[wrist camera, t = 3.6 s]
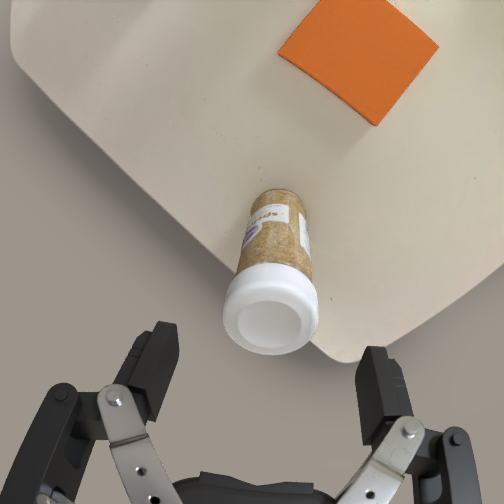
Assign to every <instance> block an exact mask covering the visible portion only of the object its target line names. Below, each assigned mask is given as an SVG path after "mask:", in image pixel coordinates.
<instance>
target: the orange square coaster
mask: <svg viewBox="0 0 504 504" xmlns="http://www.w3.org/2000/svg"><path fill="white" fill-rule="evenodd" d="M438 48H439V46H438V45H437V44H436V43H435V42H434V41H433V40H431V39H430V38H429V37H428V36H427V35H426V34H425V33H424V32H423V31H422V30H421V29H420V28H419V27H417V26H416V25H415V24H414V23H413V22H412V21H411V20H409V19H408V18H407V17H406V16H405V15H404V14H402V13H401V12H400V11H399V10H398V9H396V8H395V7H394V6H393V5H391V4H390V3H389V2H387V1H386V0H320V1H319V2H318V3H317V5H316V6H315V7H314V8H313V9H312V11H311V12H310V13H309V14H308V15H307V16H306V18H305V19H304V20H303V21H302V23H301V24H300V25H299V26H298V27H297V29H296V30H295V31H294V32H293V34H292V35H291V36H290V37H289V39H288V40H287V41H286V42H285V44H284V45H283V46H282V48H281V49H280V50H279V51H278V55H280V56H281V57H283V58H284V59H286V60H287V61H289V62H290V63H292V64H293V65H295V66H296V67H298V68H299V69H301V70H302V71H304V72H305V73H307V74H308V75H309V76H311V77H312V78H314V79H315V80H317V81H318V82H319V83H321V84H322V85H323V86H325V87H326V88H327V89H329V90H330V91H331V92H333V93H334V94H335V95H337V96H338V97H339V98H341V99H342V100H343V101H344V102H346V103H347V104H348V105H349V106H351V107H352V108H353V109H354V110H356V111H357V112H358V113H359V114H361V115H362V116H363V117H364V118H365V119H367V120H368V121H369V122H370V123H371V124H372V125H374V126H377V125H378V124H379V123H380V121H381V120H382V119H383V118H384V116H385V115H386V114H387V113H388V111H389V110H390V109H391V108H392V106H393V105H394V104H395V103H396V101H397V100H398V99H399V98H400V96H401V95H402V94H403V93H404V91H405V90H406V89H407V88H408V86H409V85H410V84H411V83H412V81H413V80H414V79H415V77H416V76H417V75H418V74H419V72H420V71H421V70H422V69H423V67H424V66H425V65H426V63H427V62H428V61H429V60H430V58H431V57H432V56H433V54H434V53H435V52H436V51H437V49H438Z"/></svg>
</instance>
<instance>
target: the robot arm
mask: <svg viewBox="0 0 504 504" xmlns="http://www.w3.org/2000/svg"><path fill="white" fill-rule="evenodd" d="M178 357H179V343H178V333H177V325H176V324H174V323H168V322H162V321H158V322H157V324H156V326H155V328H154V330H153V332H150V331H144V332H143V333H142V334H141V335H140V336H138V337H137V338H136V340H135V342H134V344H133V346H132V349H130V351H129V353H128V356H127V357H126V359H125V361H124V363H123V365H122V367H121V369H120V371H119V372H118V374H117V376H116V378H115V380H114V382H113V383H112V384H110V385H107V386H105V387H104V388H102V389H101V390H100V391H99V392H77V390H76V388H75V387H74V386H72V385H71V384H68V383H59V384H56V385H54V386H53V387H52V388H50V390H49V391H48V393H47V395H46V397H45V398H44V400H43V402H42V404H41V406H40V408H39V410H38V412H37V414H36V416H35V418H34V420H33V422H32V424H31V426H30V428H29V430H28V432H27V434H26V436H25V438H24V441H23V443H22V445H21V447H20V449H19V451H18V454H17V456H16V458H15V460H14V463H13V465H12V467H11V470H10V472H9V474H8V477H7V479H6V481H5V484H4V487H3V490H2V491H1V494H0V504H75V503H74V502H75V499H76V495H77V492H78V489H79V486H80V483H81V480H82V477H83V474H84V471H85V468H86V465H87V463H88V460H89V457H90V454H91V452H92V448H93V446H94V443H95V441H96V440H109V442H110V445H109V447H110V451H111V454H112V457H113V459H114V462H115V465H116V468H117V470H118V473H119V475H120V477H121V481H122V483H123V485H124V488H125V490H126V493H127V495H128V497H129V499H130V502H131V504H389V503H390V501H391V500H392V498H393V497H394V495H395V493H396V492H397V490H398V489H399V487H400V485H401V484H402V482H403V480H404V476H403V475H404V473H407V474H411V475H412V480H413V495H414V504H482V500H481V493H480V487H479V481H478V475H477V470H476V465H475V460H474V455H473V450H472V446H471V442H470V438H469V435H468V434H467V432H466V431H465V430H463V429H462V428H460V427H450V428H448V429H447V430H446V431H445V432H444V433H442V432H437V431H433V430H429V429H426V428H424V426H423V424H422V422H421V421H420V420H418V419H417V418H415V417H414V415H413V411H412V407H411V403H410V399H409V395H408V392H407V388H406V384H405V381H404V378H403V373H402V370H401V367H400V366H399V365H398V363H397V362H396V361H395V359H388V355H387V351H386V348H385V347H379V346H367V347H366V349H365V351H364V354H363V356H362V358H361V361H360V363H359V365H358V368H357V370H356V375H355V385H356V392H357V399H358V407H359V415H360V422H361V432H362V440H363V445H371V446H372V452H371V453H370V454H369V456H368V457H367V459H366V460H365V461H364V463H363V464H362V466H361V467H360V468H359V469H358V471H357V472H356V473H355V475H354V476H353V477H352V478H351V480H350V481H349V482H348V483H347V485H346V486H345V487H344V488H343V489H342V490H341V491H340V493H339V494H338V495H337V496H336V497H335V498H332V497H331V496H329V495H328V494H326V493H323V492H321V491H318V490H315V489H313V483H299V482H282V483H275V484H268V485H260V486H256V485H252V484H249V483H246V482H243V481H241V480H238V479H235V478H233V477H230V476H226V475H219V474H213V473H208V472H202V471H201V472H200V476H199V477H193V478H187V479H183V480H180V481H177V482H175V483H171V481H170V479H169V477H168V475H167V473H166V471H165V469H164V467H163V465H162V463H161V461H160V459H159V457H158V455H157V453H156V451H155V448H154V446H153V444H152V442H151V439H150V437H149V435H148V433H147V431H146V429H145V426H146V423H147V420H149V421H154V422H156V419H157V416H158V413H159V411H160V408H161V405H162V402H163V400H164V397H165V394H166V392H167V389H168V386H169V383H170V381H171V378H172V375H173V372H174V370H175V367H176V365H177V362H178Z"/></svg>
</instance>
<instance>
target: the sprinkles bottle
mask: <svg viewBox="0 0 504 504" xmlns="http://www.w3.org/2000/svg"><path fill="white" fill-rule="evenodd" d="M305 220H306V211H305V207H304V205H303V203H302V202H301V200H300V199H299V198H298V197H297V196H296V195H295V194H293V193H292V192H289V191H286V190H270V191H267V192H265V193H263V194H262V195H260V196H259V197H258V198H257V199H256V201H255V202H254V203H253V206H252V208H251V218H250V220H249V223H248V226H247V229H246V233H245V237H244V241H243V244H242V248H241V255H240V260H239V263H238V267H237V272H236V275H235V278H234V279H233V281H232V282H231V283H230V285H229V288H228V291H227V294H226V298H225V301H224V306H223V311H222V320H223V325H224V328H225V330H226V332H227V333H228V335H229V336H230V337H231V339H233V341H234V342H236V343H237V344H238V345H240V346H241V347H243V348H244V349H246V350H249V351H252V352H254V353H258V354H264V355H281V354H285V353H289V352H292V351H295V350H297V349H299V348H300V347H302V346H304V345H305V344H306V343H307V342H308V341H309V340H310V339H311V338H312V336H313V335H314V333H315V331H316V329H317V326H318V320H319V319H318V300H317V293H316V290H315V288H314V286H313V283H312V272H311V268H312V264H311V254H310V244H309V238H308V230H307V224H306V221H305Z"/></svg>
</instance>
